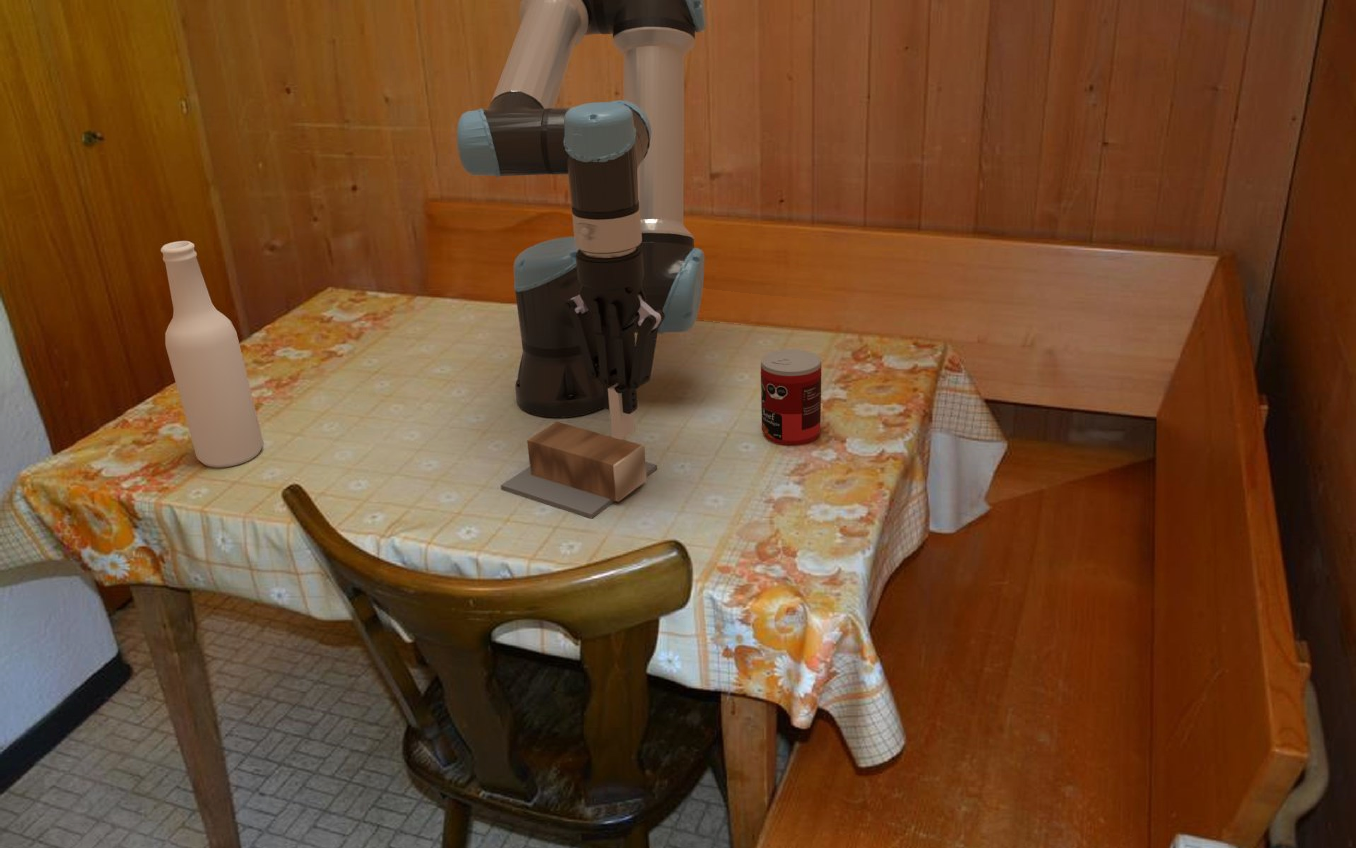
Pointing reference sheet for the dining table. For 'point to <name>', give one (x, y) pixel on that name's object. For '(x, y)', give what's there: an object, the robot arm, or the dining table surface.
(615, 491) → the walnut block
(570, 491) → the mat
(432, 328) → the dining table surface
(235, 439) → the alcohol
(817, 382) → the canned food
